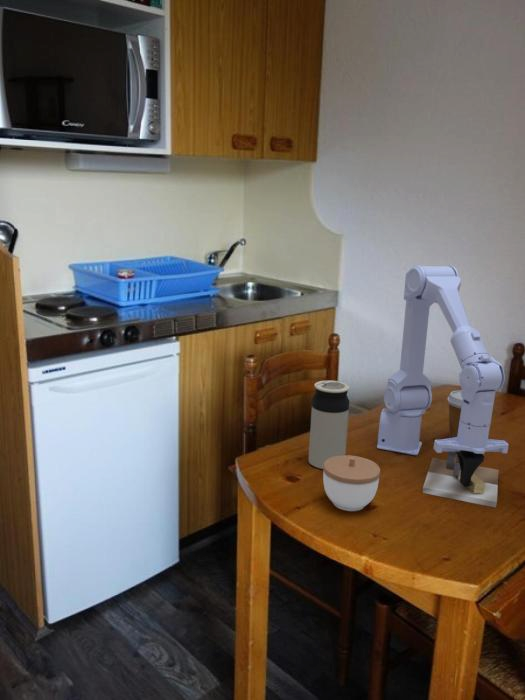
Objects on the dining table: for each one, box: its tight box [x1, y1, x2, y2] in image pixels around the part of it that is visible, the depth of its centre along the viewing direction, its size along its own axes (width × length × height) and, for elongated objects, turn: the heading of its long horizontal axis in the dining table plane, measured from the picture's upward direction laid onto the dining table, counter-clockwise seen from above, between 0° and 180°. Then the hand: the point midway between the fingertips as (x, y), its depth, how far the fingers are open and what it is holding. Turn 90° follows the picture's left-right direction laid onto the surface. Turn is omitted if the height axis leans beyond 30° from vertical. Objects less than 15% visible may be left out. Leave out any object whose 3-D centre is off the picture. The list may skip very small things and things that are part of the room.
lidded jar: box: [322, 454, 381, 512], centre depth 118 cm, size 11×11×9 cm
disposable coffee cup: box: [446, 390, 463, 438], centre depth 150 cm, size 10×10×12 cm
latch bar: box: [453, 461, 485, 493], centre depth 126 cm, size 9×3×3 cm, turn 11°
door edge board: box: [422, 457, 500, 508], centre depth 129 cm, size 14×16×1 cm
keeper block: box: [446, 451, 457, 470], centre depth 135 cm, size 2×4×2 cm, turn 158°
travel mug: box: [308, 379, 350, 470], centre depth 134 cm, size 8×8×18 cm
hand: (465, 484), depth 124 cm, fingers closed, pressing on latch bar
